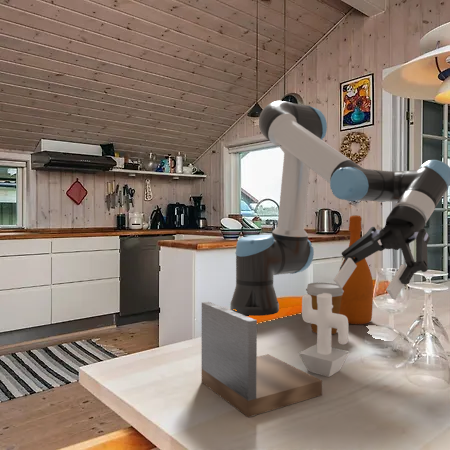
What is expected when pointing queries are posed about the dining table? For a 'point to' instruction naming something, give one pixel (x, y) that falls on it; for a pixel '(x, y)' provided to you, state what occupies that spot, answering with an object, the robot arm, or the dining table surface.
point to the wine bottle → (357, 284)
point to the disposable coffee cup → (322, 288)
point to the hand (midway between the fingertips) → (362, 289)
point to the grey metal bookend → (230, 348)
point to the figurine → (324, 336)
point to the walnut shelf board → (269, 387)
